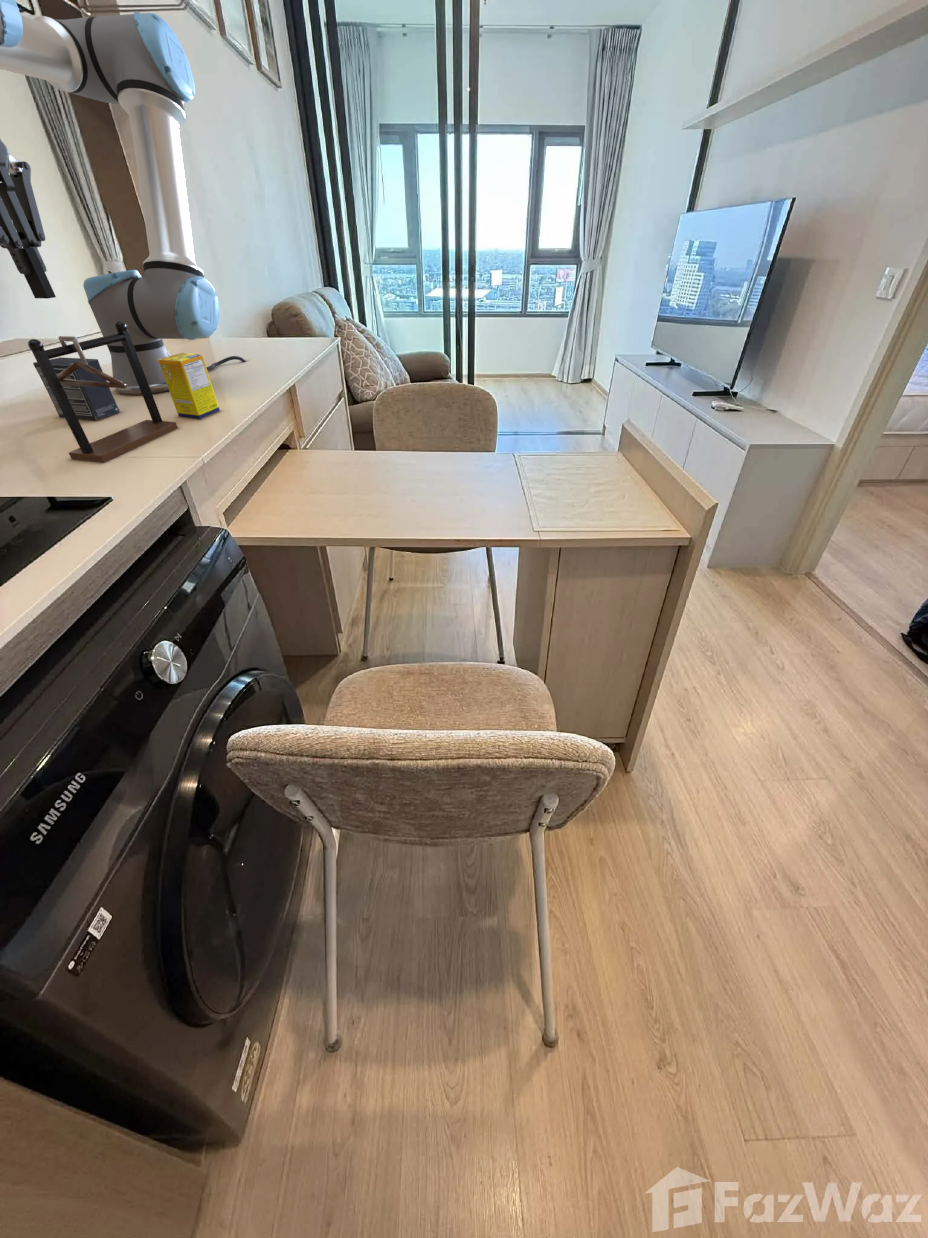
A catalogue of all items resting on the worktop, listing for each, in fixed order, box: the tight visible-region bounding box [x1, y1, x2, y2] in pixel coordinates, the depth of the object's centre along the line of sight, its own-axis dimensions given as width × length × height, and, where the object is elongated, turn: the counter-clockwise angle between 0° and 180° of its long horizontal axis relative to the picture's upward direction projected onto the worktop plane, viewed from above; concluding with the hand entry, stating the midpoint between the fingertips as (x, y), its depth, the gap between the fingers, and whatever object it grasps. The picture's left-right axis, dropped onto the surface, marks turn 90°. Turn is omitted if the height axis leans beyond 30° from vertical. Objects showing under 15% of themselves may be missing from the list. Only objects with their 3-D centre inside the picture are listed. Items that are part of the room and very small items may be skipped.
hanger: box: [57, 335, 126, 389], centre depth 82 cm, size 1×15×7 cm, turn 74°
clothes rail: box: [27, 321, 179, 463], centre depth 87 cm, size 18×7×18 cm, turn 164°
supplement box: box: [158, 352, 221, 420], centre depth 102 cm, size 6×6×11 cm
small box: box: [32, 356, 121, 421], centre depth 104 cm, size 11×6×10 cm, turn 72°
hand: (45, 297), depth 82 cm, fingers closed
